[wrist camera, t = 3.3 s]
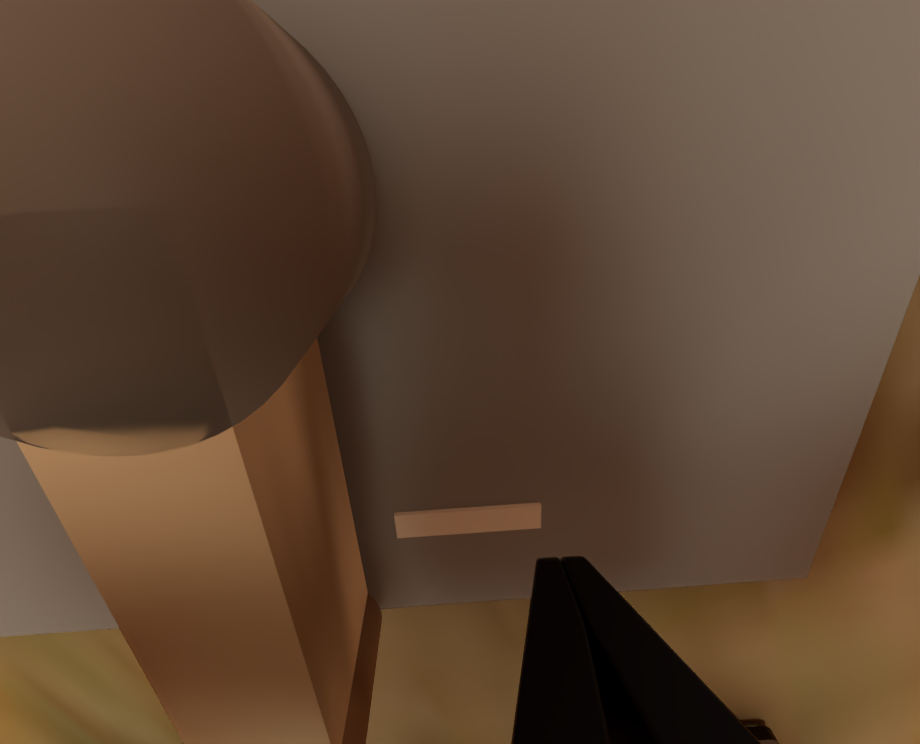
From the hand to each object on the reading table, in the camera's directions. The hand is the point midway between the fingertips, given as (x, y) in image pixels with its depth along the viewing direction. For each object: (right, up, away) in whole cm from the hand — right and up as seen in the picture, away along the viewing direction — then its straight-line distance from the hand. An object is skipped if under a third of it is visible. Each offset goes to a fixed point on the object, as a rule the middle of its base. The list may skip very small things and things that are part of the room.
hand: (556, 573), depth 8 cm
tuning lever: (-5, +3, 0) cm, 6 cm away
